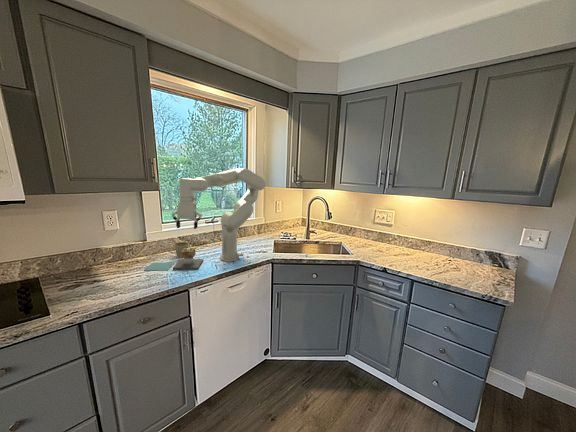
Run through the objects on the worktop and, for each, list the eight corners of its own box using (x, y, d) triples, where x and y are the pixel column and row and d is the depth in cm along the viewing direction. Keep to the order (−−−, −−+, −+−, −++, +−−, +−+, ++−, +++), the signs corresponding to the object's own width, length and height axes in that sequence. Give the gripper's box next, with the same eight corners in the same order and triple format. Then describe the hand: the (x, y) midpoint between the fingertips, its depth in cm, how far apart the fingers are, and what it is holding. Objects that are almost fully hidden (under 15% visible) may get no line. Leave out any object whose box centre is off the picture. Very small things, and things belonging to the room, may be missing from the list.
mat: (174, 262, 150) (174, 262, 150) (167, 270, 139) (167, 269, 138) (152, 263, 148) (152, 262, 148) (143, 270, 137) (143, 270, 137)
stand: (203, 261, 155) (202, 245, 153) (198, 269, 141) (197, 252, 139) (180, 261, 153) (179, 245, 151) (172, 270, 139) (172, 252, 138)
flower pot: (170, 257, 160) (170, 244, 158) (181, 253, 168) (180, 241, 167) (182, 259, 157) (181, 246, 155) (192, 255, 165) (191, 242, 164)
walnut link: (195, 254, 150) (195, 248, 149) (192, 258, 143) (192, 251, 143) (184, 254, 149) (184, 248, 148) (181, 258, 142) (180, 251, 142)
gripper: (203, 199, 145) (203, 227, 148) (173, 198, 144) (174, 226, 147) (200, 200, 138) (200, 230, 141) (168, 199, 136) (169, 229, 139)
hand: (187, 228), depth 144 cm, fingers open, 9 cm apart
